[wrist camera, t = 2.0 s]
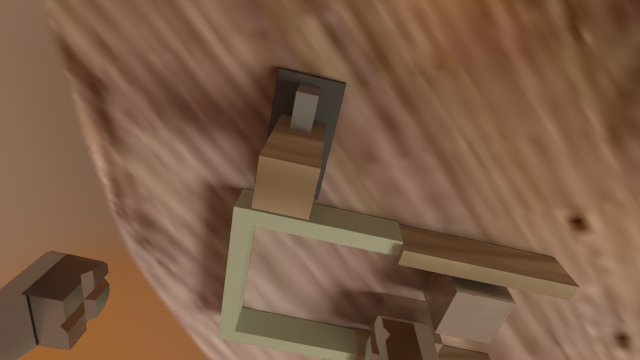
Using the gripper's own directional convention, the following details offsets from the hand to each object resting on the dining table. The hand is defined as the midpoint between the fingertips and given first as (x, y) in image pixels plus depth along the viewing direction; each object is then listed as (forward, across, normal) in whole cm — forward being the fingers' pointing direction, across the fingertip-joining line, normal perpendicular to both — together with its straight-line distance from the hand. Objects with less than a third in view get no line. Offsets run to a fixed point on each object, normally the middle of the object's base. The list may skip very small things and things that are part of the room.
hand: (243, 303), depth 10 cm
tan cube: (+14, -14, +8) cm, 21 cm away
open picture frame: (+14, -3, +10) cm, 17 cm away
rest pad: (+13, 0, -1) cm, 13 cm away
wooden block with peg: (+13, 0, -1) cm, 13 cm away
